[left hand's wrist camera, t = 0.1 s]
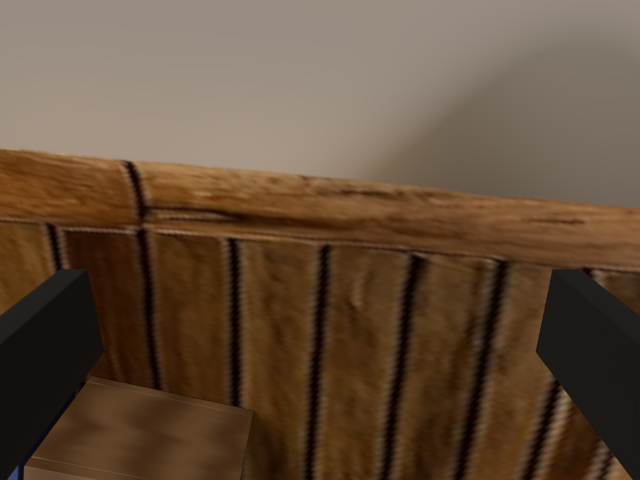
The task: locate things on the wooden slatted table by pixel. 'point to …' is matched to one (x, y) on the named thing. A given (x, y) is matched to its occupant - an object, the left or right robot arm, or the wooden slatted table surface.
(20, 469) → the drawer
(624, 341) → the left robot arm
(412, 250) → the wooden slatted table surface
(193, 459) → the cabinet
